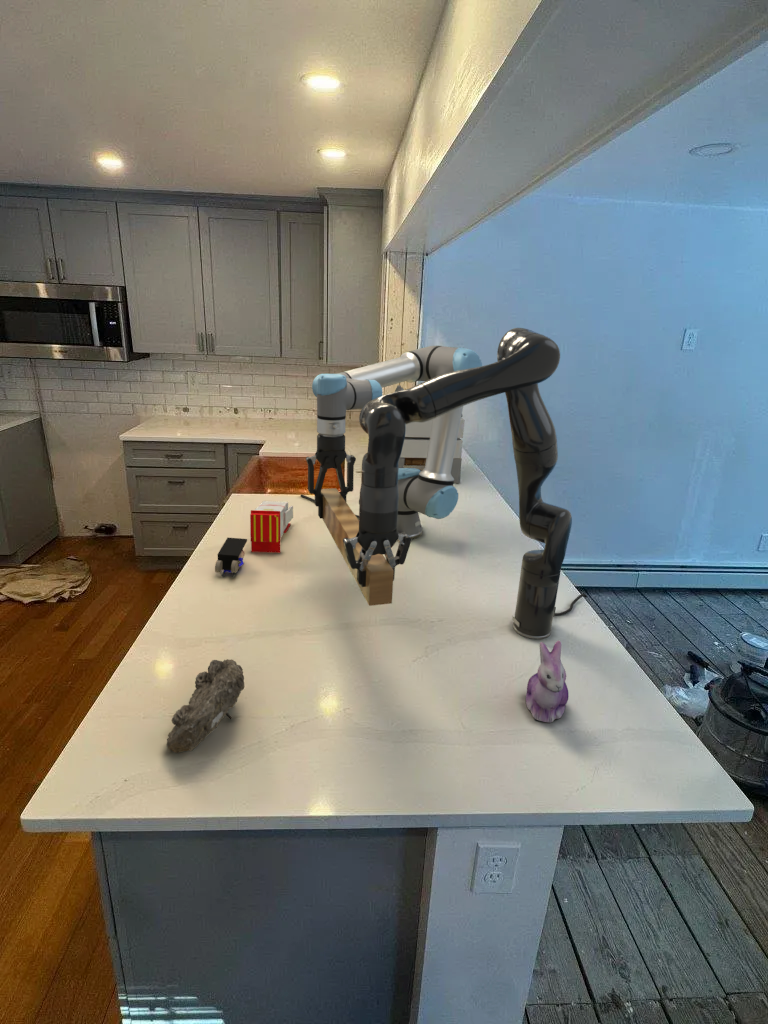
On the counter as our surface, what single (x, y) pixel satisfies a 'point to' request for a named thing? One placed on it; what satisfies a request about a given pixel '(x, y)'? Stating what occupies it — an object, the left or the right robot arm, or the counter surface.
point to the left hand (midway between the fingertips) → (330, 515)
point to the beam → (357, 548)
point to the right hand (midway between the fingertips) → (375, 583)
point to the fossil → (206, 705)
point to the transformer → (426, 445)
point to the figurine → (548, 686)
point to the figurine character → (230, 556)
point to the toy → (269, 525)
